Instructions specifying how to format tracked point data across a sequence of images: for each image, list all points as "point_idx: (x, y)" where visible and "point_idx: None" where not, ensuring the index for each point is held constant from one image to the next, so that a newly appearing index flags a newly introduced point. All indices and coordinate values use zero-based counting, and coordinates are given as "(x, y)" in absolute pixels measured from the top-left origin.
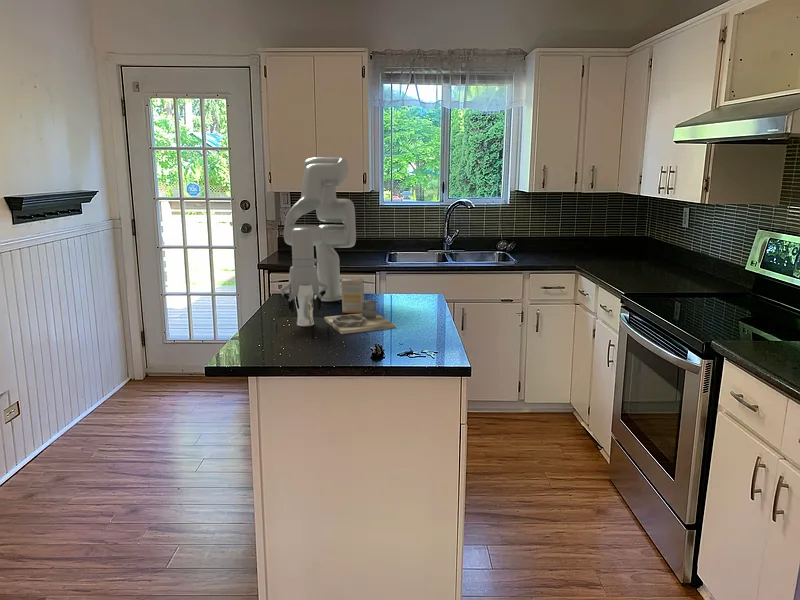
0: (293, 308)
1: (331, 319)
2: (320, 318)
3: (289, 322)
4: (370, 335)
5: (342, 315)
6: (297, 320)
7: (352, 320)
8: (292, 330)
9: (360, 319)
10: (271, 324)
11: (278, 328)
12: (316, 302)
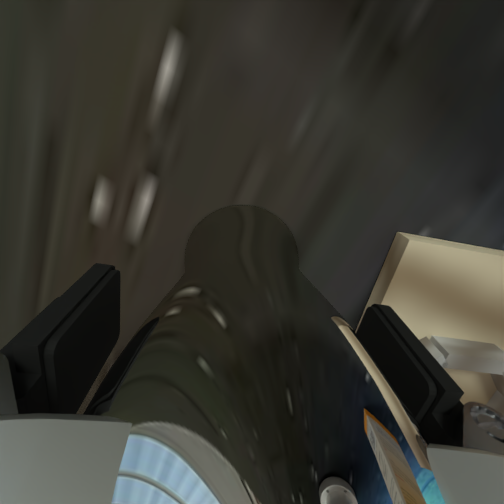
0: (104, 362)
1: (399, 314)
2: (409, 170)
3: (161, 145)
4: None
5: (464, 362)
6: (185, 260)
7: (466, 381)
8: (125, 329)
9: (494, 406)
10: (7, 119)
11: (49, 253)
12: (387, 369)
